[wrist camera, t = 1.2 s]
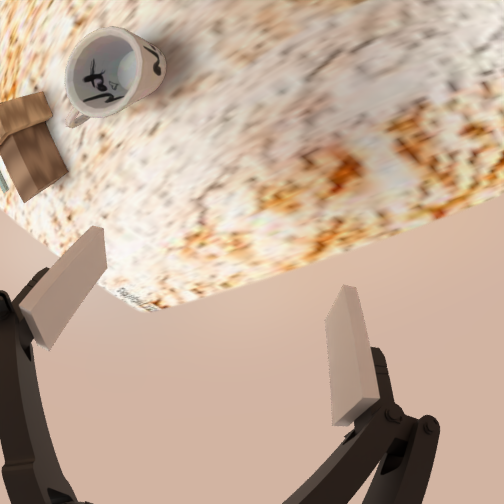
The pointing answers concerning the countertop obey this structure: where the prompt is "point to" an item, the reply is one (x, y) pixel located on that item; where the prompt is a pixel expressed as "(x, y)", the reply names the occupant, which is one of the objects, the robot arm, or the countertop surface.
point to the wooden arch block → (22, 113)
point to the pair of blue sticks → (3, 184)
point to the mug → (110, 73)
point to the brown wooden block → (32, 160)
